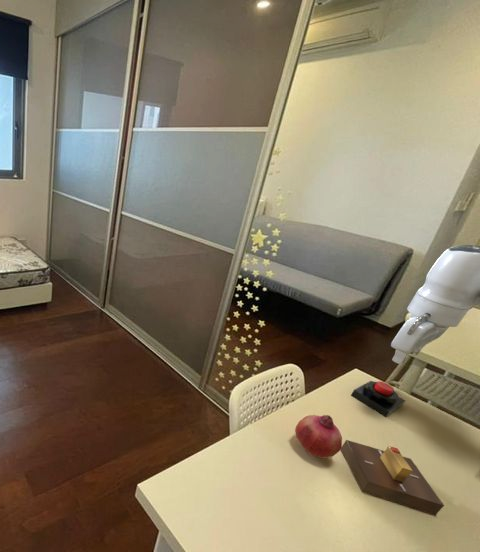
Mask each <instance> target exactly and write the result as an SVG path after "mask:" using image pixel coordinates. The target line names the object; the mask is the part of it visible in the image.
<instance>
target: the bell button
mask: <svg viewBox="0 0 480 552" xmlns="http://www.w3.org/2000/svg"><path fill="white" fill-rule="evenodd" d="M376 382H377V383H376V384H375V386H374V388H375V389H376V390H377V391H378V392H380V393H382V394H384V395H387V396H390V395H391V394H392V393H393V391H395V388H394V387H393V386H391V384H388V382H387V383H386V382H384V381H380V380H379V381H376Z"/></svg>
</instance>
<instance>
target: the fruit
mask: <svg viewBox="0 0 480 552" xmlns="http://www.w3.org/2000/svg"><path fill="white" fill-rule="evenodd" d="M333 420H334V419H333V418H332V416H331V415H328V414H323V415H316V414H310V415H306V416H304V417H302V419H300V421H298V423H297V424H296V426H295V428H294V434H295V437H296V439H297V441H298V442H299V444H300V445H301V446H302V448H303V449H304V450H305V451H306V452H307V453H309V455H312V456H315V457H318V458H322V459H324V458H331V457H334V456H335V455H337V454H338V453H339V452H340V451H341V447H342V446H343V436H342V434H341V432H340V429H339V428H338V427H337V426H336V425H335V424H334V421H333Z"/></svg>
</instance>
